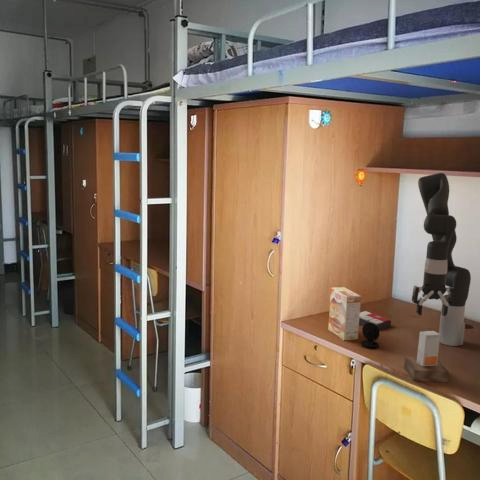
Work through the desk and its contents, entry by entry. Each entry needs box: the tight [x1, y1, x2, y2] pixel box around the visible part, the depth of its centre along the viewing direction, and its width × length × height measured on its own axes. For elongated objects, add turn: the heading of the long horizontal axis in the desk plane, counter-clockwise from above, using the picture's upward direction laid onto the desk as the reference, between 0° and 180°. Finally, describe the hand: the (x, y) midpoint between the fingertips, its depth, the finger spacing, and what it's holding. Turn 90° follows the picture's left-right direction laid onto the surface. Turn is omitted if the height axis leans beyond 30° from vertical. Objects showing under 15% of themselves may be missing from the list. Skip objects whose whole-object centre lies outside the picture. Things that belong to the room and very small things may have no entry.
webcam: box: [360, 322, 380, 350], centre depth 226 cm, size 8×8×10 cm
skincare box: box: [416, 330, 441, 366], centre depth 198 cm, size 6×4×12 cm
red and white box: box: [359, 310, 392, 331], centre depth 256 cm, size 11×4×15 cm
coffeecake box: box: [328, 286, 362, 341], centre depth 239 cm, size 15×7×20 cm, turn 18°
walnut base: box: [403, 357, 449, 383], centre depth 199 cm, size 12×12×4 cm
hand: (431, 315), depth 196 cm, fingers open, 8 cm apart
